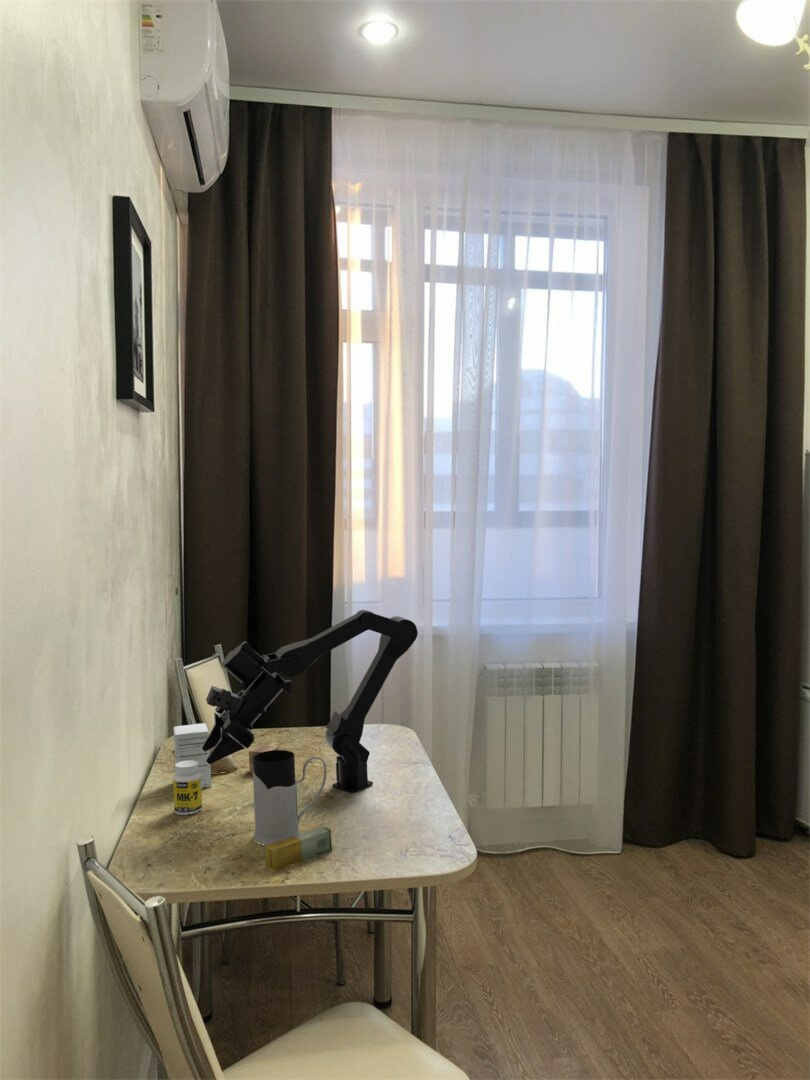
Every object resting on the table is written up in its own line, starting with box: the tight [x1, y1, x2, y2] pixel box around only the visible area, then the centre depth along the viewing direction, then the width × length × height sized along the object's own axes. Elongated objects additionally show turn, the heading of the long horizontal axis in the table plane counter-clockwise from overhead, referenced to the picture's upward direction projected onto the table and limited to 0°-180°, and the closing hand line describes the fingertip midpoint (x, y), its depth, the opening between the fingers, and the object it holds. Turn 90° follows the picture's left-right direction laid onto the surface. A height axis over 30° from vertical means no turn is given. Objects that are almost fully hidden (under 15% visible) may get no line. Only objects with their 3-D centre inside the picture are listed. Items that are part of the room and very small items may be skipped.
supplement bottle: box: [172, 760, 203, 816], centre depth 165 cm, size 6×6×10 cm
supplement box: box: [173, 722, 212, 789], centre depth 181 cm, size 7×7×13 cm
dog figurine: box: [210, 747, 239, 773], centre depth 190 cm, size 6×8×10 cm
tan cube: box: [248, 744, 280, 773], centre depth 190 cm, size 5×5×5 cm
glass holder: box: [252, 749, 328, 846], centre depth 151 cm, size 9×14×15 cm, turn 111°
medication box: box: [264, 826, 333, 872], centre depth 141 cm, size 12×3×4 cm, turn 128°
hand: (205, 756), depth 166 cm, fingers open, 9 cm apart
